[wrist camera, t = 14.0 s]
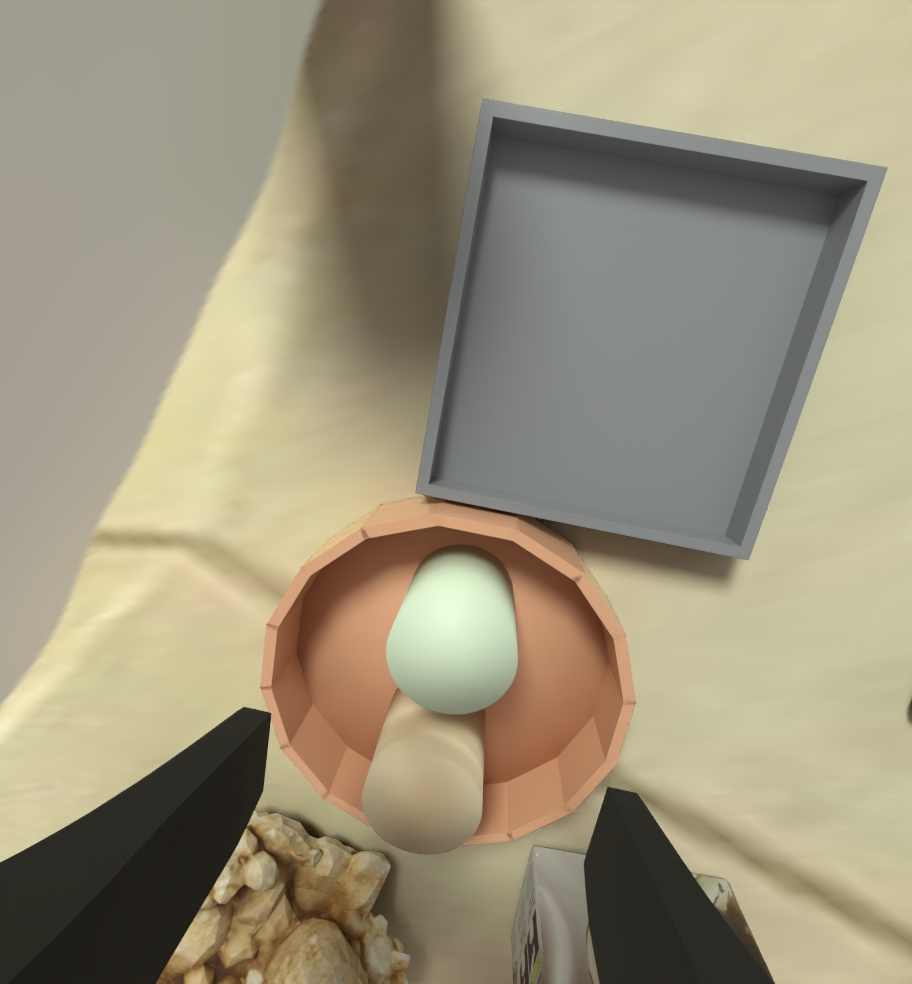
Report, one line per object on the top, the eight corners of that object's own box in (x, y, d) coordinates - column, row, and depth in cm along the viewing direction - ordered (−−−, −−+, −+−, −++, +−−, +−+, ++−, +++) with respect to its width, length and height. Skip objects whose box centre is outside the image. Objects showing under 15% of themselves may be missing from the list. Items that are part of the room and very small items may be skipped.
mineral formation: (237, 1003, 27) (32, 817, 24) (444, 870, 26) (263, 661, 23) (166, 1258, 19) (-157, 1030, 16) (459, 1074, 18) (188, 800, 15)
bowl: (652, 533, 19) (680, 562, 16) (569, 811, 22) (580, 878, 19) (313, 464, 19) (280, 481, 16) (280, 747, 23) (248, 802, 20)
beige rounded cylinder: (493, 682, 20) (493, 769, 16) (475, 763, 21) (469, 865, 17) (397, 662, 20) (370, 742, 16) (383, 743, 21) (354, 839, 17)
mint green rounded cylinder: (524, 557, 19) (532, 613, 14) (500, 649, 20) (500, 728, 15) (421, 533, 19) (399, 582, 15) (402, 626, 20) (376, 697, 16)
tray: (844, 190, 16) (887, 167, 14) (725, 542, 19) (748, 559, 17) (484, 128, 16) (482, 98, 14) (422, 482, 19) (415, 493, 17)
